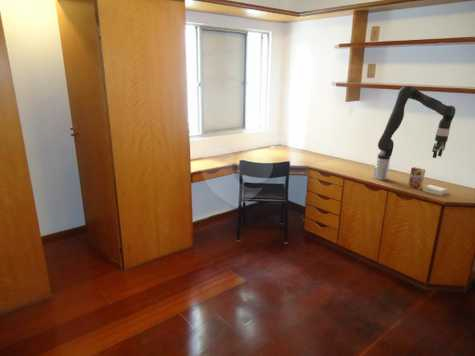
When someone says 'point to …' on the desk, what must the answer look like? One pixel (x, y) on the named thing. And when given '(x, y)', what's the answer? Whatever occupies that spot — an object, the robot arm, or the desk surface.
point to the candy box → (416, 178)
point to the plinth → (434, 190)
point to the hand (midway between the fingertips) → (436, 157)
